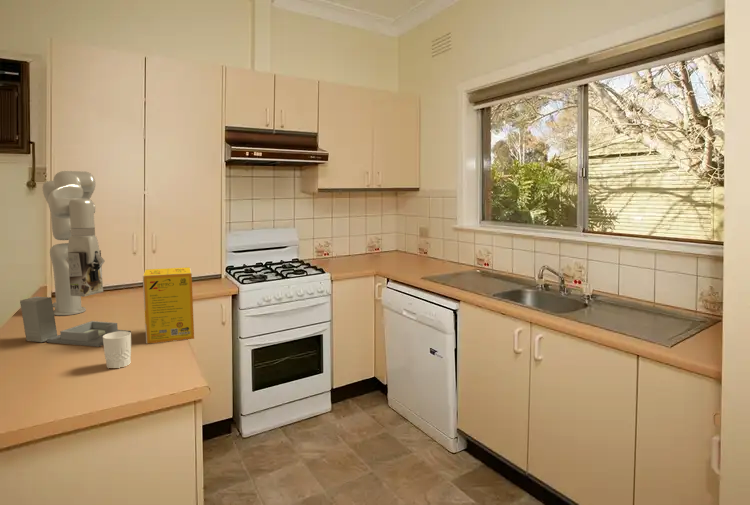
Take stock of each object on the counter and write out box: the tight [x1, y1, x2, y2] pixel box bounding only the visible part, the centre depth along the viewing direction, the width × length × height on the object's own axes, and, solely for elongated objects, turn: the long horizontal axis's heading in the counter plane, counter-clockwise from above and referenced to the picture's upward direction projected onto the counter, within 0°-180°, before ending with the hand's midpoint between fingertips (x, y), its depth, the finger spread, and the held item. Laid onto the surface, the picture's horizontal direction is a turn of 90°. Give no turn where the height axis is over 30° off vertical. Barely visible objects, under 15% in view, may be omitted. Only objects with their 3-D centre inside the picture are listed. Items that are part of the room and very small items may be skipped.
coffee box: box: [68, 249, 104, 298], centre depth 173 cm, size 9×6×16 cm
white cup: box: [102, 330, 132, 369], centre depth 148 cm, size 8×8×10 cm
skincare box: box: [19, 296, 58, 343], centre depth 172 cm, size 8×7×16 cm
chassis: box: [46, 320, 132, 347], centre depth 176 cm, size 22×16×4 cm
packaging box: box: [142, 266, 195, 344], centre depth 179 cm, size 16×16×25 cm
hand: (86, 280), depth 174 cm, fingers closed on coffee box, 6 cm apart
